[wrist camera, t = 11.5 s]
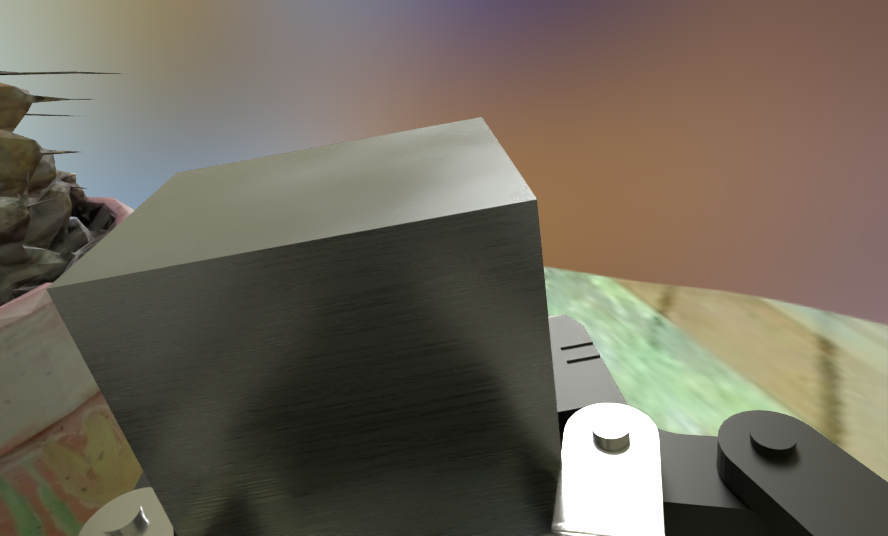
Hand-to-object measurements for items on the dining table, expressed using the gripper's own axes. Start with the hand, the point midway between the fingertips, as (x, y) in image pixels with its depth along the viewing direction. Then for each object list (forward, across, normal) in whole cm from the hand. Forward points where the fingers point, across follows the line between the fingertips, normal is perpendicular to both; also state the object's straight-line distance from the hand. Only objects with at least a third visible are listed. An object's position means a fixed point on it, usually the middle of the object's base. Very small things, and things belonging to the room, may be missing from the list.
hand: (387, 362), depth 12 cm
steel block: (-3, 0, +7) cm, 8 cm away
